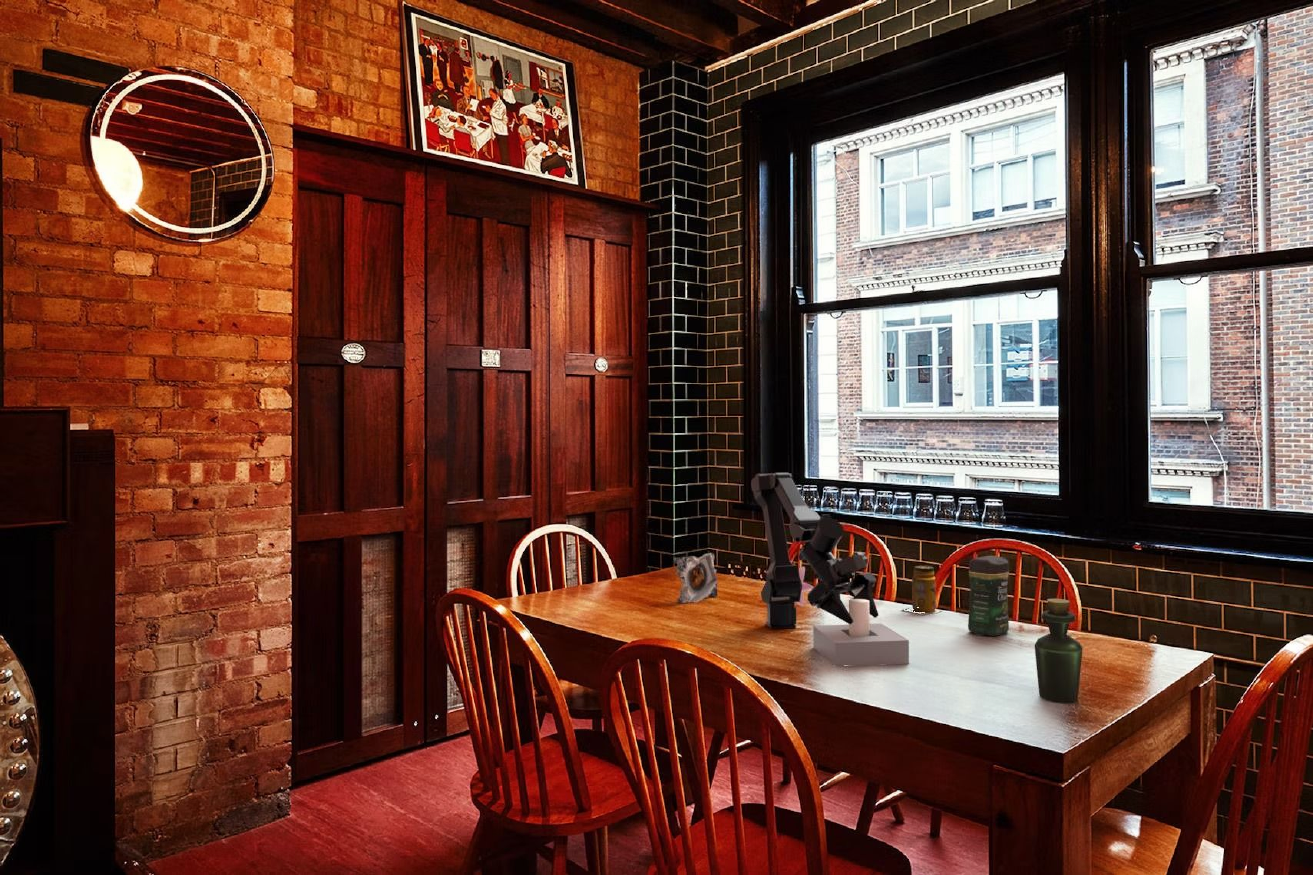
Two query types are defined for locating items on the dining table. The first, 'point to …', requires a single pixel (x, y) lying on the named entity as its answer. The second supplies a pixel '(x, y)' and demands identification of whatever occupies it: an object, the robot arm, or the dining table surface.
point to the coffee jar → (988, 596)
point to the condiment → (923, 590)
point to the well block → (860, 645)
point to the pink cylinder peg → (859, 617)
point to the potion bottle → (1058, 656)
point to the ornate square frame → (696, 577)
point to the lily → (803, 586)
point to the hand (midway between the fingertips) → (864, 619)
